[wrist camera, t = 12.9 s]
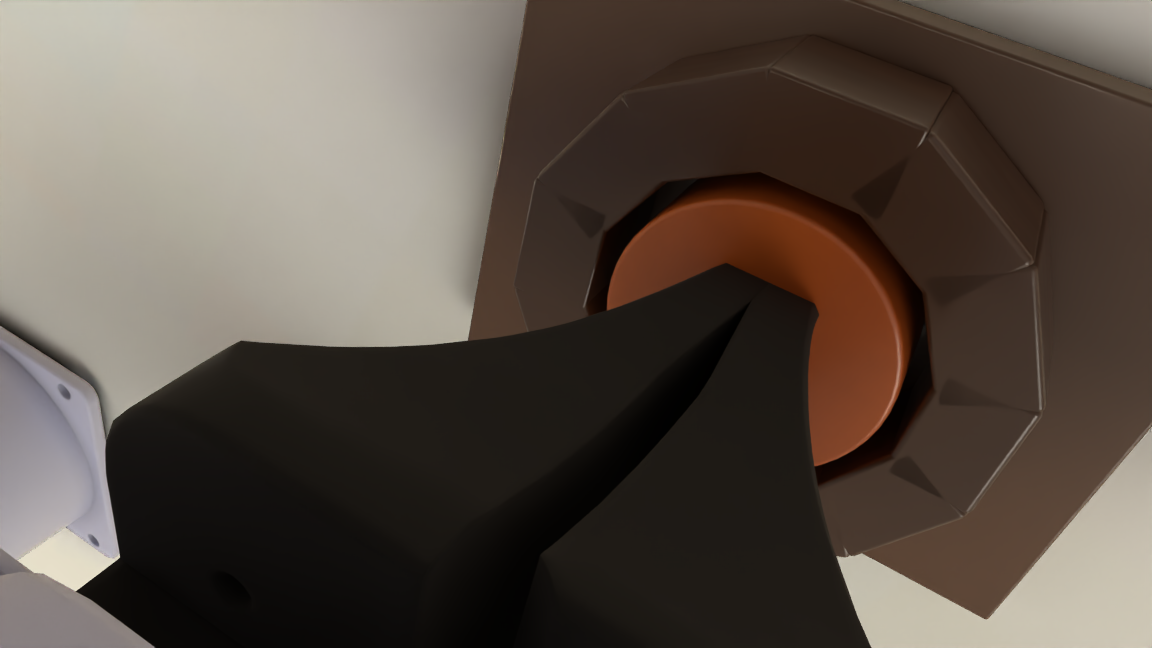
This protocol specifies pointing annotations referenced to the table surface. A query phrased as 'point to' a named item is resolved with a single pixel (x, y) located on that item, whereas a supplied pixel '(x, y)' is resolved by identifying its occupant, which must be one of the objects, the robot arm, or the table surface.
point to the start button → (795, 289)
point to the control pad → (896, 215)
